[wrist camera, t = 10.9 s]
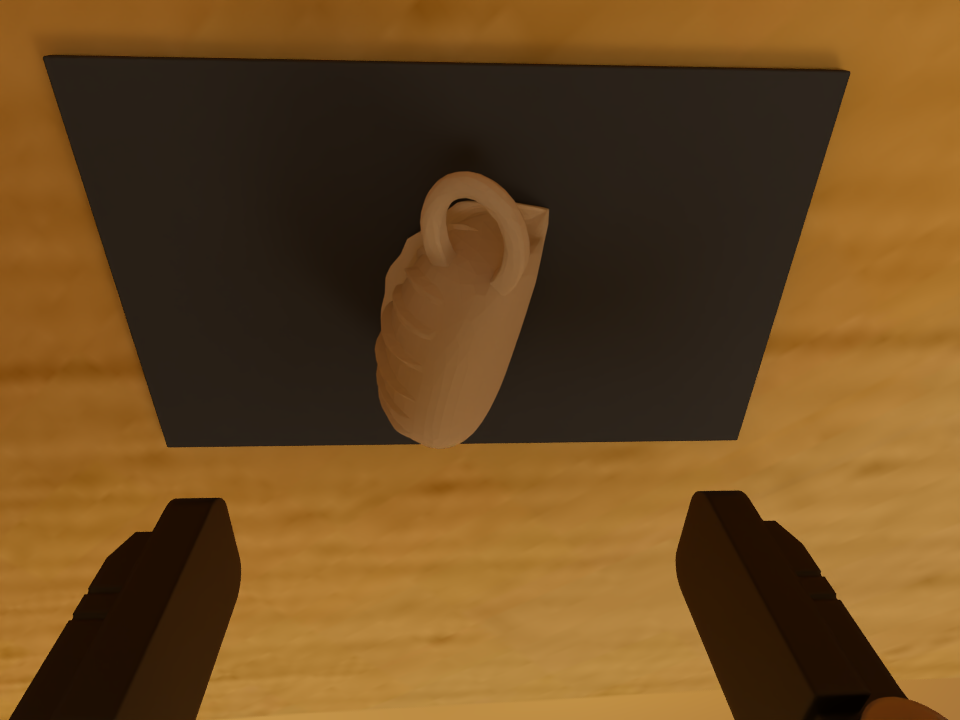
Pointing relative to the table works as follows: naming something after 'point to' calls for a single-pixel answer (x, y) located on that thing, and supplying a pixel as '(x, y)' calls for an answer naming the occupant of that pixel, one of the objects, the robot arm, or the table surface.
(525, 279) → the decorative ornament
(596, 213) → the mat
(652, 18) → the table surface
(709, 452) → the table surface
